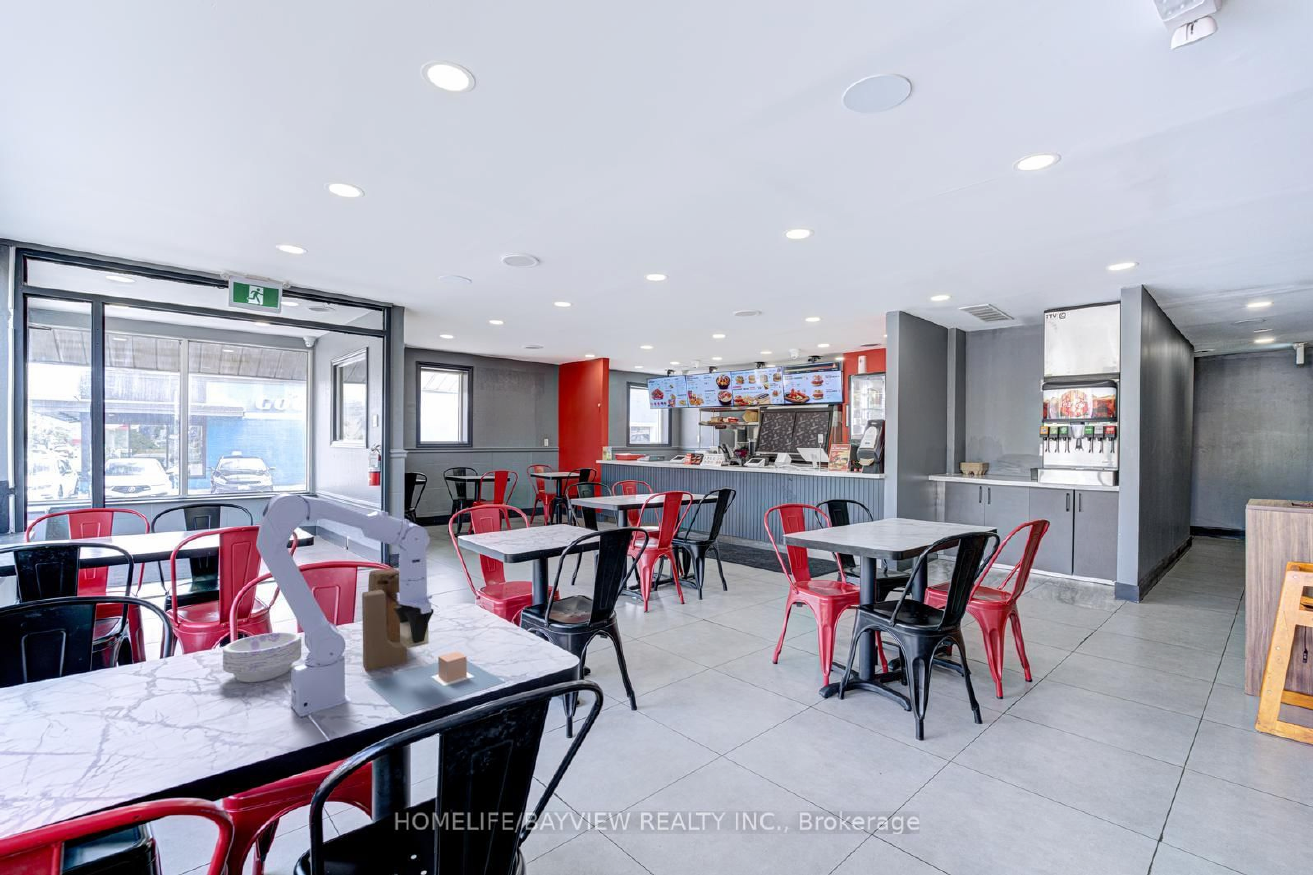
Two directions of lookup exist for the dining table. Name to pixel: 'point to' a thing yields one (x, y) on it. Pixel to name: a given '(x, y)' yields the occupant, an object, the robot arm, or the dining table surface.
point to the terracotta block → (452, 666)
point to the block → (388, 598)
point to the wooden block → (378, 634)
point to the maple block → (410, 636)
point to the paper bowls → (262, 656)
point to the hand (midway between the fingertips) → (414, 639)
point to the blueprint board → (429, 687)
